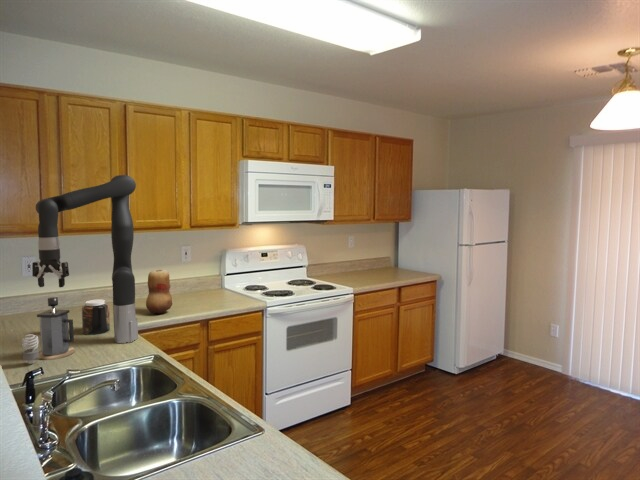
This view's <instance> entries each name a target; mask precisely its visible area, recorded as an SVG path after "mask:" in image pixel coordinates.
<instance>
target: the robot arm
mask: <svg viewBox="0 0 640 480" xmlns="http://www.w3.org/2000/svg"><path fill="white" fill-rule="evenodd" d="M136 187H137V184H136V181H135V179H134V178H133V177H132V176H130V175H126V174H119V175H115V176H113V177H112V178H111V179H110V181H109V182H104V183H102V184H98V185H95V186H89V187H85V188H81V189H75V190H73V191H72V190H71V191H68V192H65V193H62V194H60V195H56V196H52V197H46V198H43V199H41V200H38V201H37V203H36V204H35V211H36V213H37V214H38V223H39V224H38V226H37V230H38V231H37V233H38V236H37V237H38V241H37V243H38V245H37V246H38V247H37V249H38V259H39V261H33V262H32V263H31V265H32V267H31V269H32V271H31V272H32V273H31V274H32V277H35V278H36V279H37V285H38V287H39V288H44V287H45V278H44V276H45V275H46V274H48V273H50V274H55V276H57V277H58V287H59V288H64V286H65V283H66V282H65V281H66V280H65V279H66V278H67V277H68V276H70V270H69V262H68V261H63V262H61V260H60V259H61V247H60V244H61V243H60V238H59V228H58V222H59V213H61V212H64V211H69V210H70V211H71V210H74V209H78V208H80V207H81V208H82V207H84V206H86V205H90V204H93V203H96V202H99V201H102V200H106V199H110V198H111V229H110V230H111V231H110V233H111V247H112V253H113V254H112V255H113V263H112V265H113V267H112V274H111V281H112V309H113V311H112V312H113V313H112V316H113V333H114V334H113V335H114V337H113V338H114V343H118V344H126V342H128V343H133V342H135V341H137V339H139V326H138V322H139V321H138V318H136V278H135V274H134V273H133V268H132V267H133V265H132V252H133V246H134V239H135V238H134V234H135V231H134V221H133V218H132V214H131V211H130V210H131V209H130V195H131V194H133V193H134V192H135V190H136ZM134 340H135V341H134ZM132 341H133V342H132Z"/></svg>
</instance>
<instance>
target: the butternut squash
mask: <svg viewBox="0 0 640 480" xmlns="http://www.w3.org/2000/svg"><path fill="white" fill-rule="evenodd" d="M170 282H171V281H170V273H169V271H168V270H167V269H164V268H157V269H152V270H151V271H150V272H149V273H148V275H147V288H148V295H147V297H146V300H145V306H146V309H147V310H148V311H149V312H150V313H153V314H157V315H159V314H164V313H165V312H167V311H168V310H170V309H171V307H172V306H173V300H172V294H171V292H170V289H171V283H170Z"/></svg>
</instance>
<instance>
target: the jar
mask: <svg viewBox="0 0 640 480" xmlns="http://www.w3.org/2000/svg"><path fill="white" fill-rule="evenodd" d="M110 321H111V318H110V306H109V304H108V303H106V300H105V299H91V300H87V301H85V305H83V306H82V307H81V324H82V334H83V335H88V336H89V335H90V336H91V335H92V336H93V335H100V334H105V333H108V332H110V329H111V325H110V323H111V322H110Z"/></svg>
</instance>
